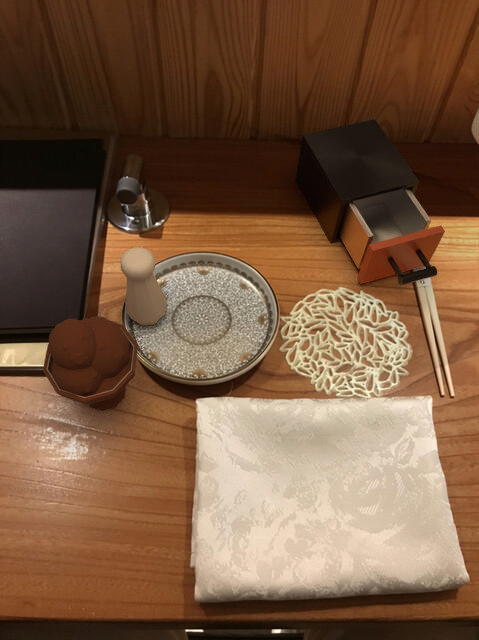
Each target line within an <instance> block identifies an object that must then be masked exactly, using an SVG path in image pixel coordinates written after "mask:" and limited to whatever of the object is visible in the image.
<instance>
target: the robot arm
mask: <svg viewBox="0 0 479 640" xmlns="http://www.w3.org/2000/svg"><path fill="white" fill-rule="evenodd" d="M471 134H472V136H473V138H474V140H475V142H476V143H477V144H478V145H479V108H478V109H477V111H476V114H475V115H474V117H473V121H472V124H471Z"/></svg>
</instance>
